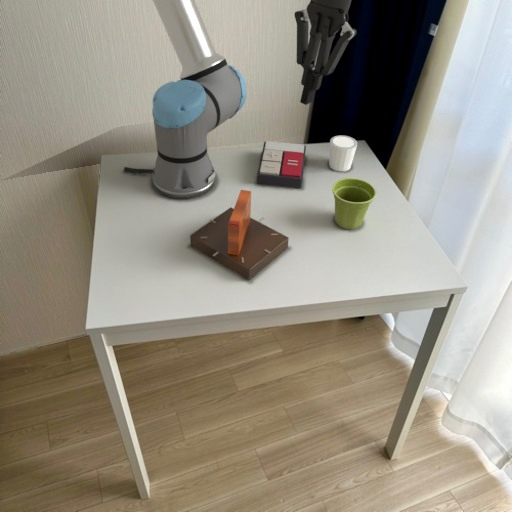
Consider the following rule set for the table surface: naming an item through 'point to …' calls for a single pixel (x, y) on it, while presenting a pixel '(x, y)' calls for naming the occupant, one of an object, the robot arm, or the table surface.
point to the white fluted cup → (342, 152)
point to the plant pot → (352, 201)
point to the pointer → (239, 222)
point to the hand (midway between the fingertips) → (306, 101)
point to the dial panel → (253, 248)
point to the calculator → (281, 164)
